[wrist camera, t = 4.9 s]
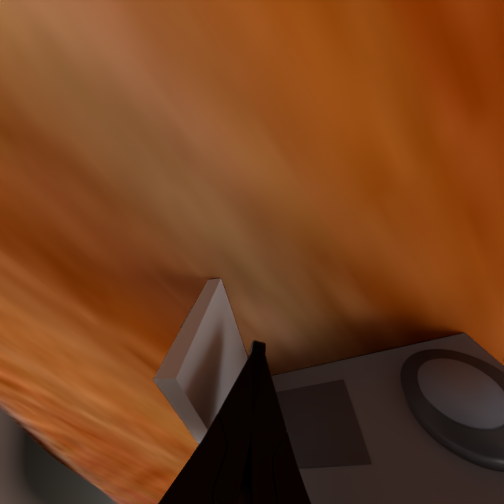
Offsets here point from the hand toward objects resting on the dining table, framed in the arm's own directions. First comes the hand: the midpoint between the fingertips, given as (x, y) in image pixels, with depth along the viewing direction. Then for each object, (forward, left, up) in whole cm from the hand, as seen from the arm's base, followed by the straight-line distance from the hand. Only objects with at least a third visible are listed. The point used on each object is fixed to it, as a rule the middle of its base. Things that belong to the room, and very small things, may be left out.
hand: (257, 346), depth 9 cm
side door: (+3, +2, -3) cm, 4 cm away
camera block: (-3, +11, -3) cm, 12 cm away
